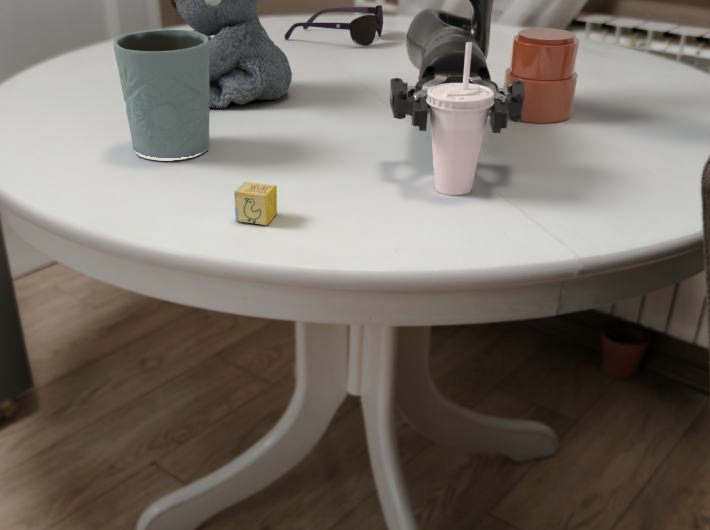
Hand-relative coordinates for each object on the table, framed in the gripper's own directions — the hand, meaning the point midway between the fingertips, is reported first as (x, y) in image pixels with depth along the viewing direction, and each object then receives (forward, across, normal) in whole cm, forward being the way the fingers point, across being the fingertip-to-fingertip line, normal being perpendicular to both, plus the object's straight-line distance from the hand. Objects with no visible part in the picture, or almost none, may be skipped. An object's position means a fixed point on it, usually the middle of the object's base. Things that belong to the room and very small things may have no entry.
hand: (460, 121), depth 75 cm
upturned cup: (-29, +12, +8) cm, 32 cm away
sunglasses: (-70, -18, +8) cm, 72 cm away
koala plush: (-34, -29, +8) cm, 46 cm away
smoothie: (-2, 0, +8) cm, 8 cm away
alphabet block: (+7, -19, +8) cm, 21 cm away
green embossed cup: (-11, -31, +8) cm, 34 cm away
